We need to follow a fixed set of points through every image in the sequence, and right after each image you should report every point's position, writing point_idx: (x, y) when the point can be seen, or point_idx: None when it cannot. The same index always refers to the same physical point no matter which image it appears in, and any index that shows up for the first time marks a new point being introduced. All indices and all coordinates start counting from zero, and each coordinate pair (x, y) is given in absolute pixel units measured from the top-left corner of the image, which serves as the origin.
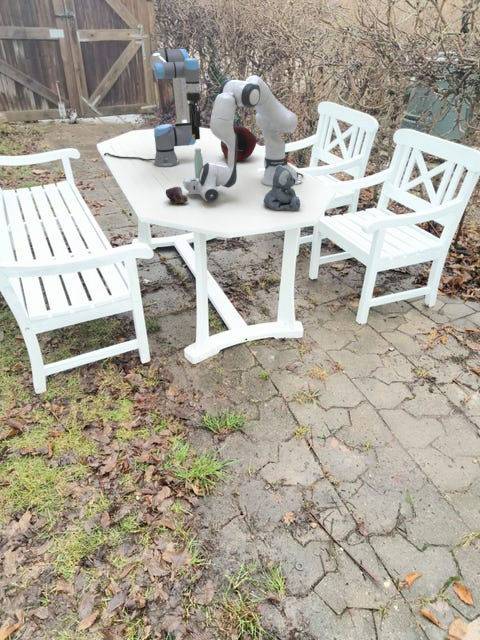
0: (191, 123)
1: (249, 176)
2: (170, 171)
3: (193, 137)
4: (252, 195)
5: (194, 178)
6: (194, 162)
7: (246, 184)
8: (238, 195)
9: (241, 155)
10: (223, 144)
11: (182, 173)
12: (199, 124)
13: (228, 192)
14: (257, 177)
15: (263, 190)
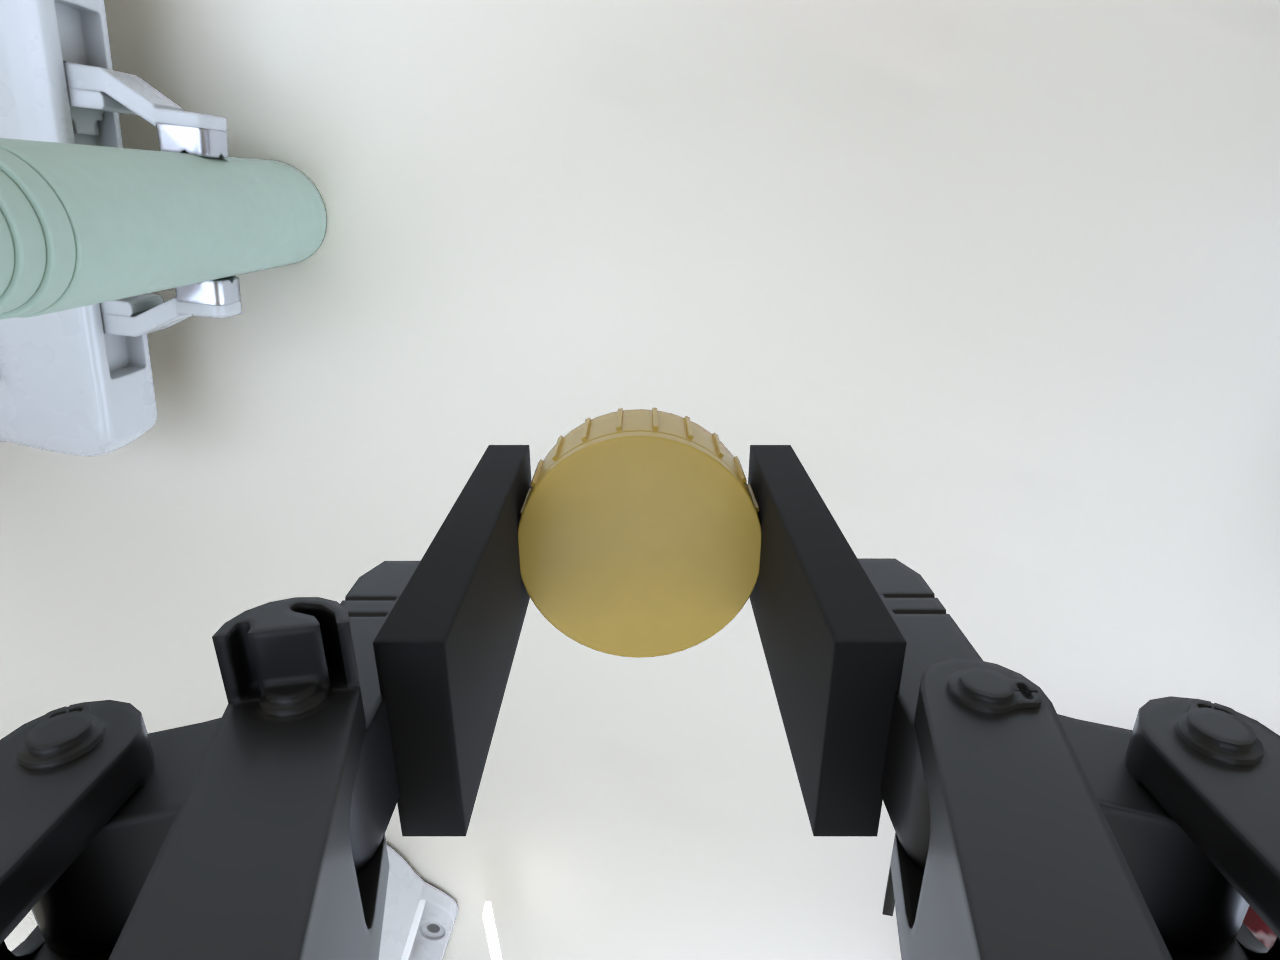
0: (960, 709)
1: (554, 799)
2: (1199, 78)
3: (582, 434)
4: (3, 631)
5: (38, 93)
6: (8, 139)
7: None
8: (20, 523)
9: None
10: (1271, 938)
11: (1010, 214)
12: (37, 921)
13: (128, 470)
14: (499, 840)
15: None
